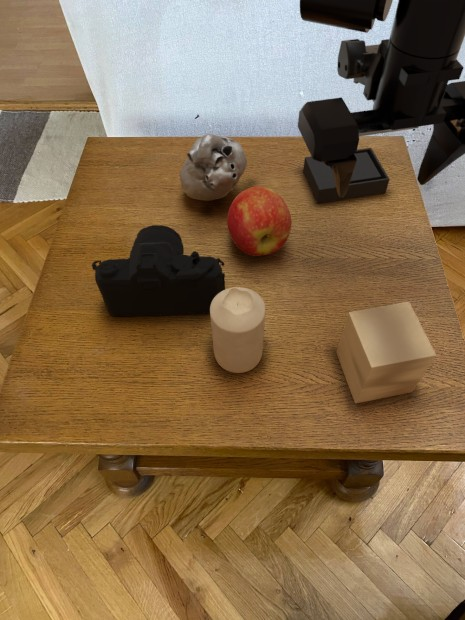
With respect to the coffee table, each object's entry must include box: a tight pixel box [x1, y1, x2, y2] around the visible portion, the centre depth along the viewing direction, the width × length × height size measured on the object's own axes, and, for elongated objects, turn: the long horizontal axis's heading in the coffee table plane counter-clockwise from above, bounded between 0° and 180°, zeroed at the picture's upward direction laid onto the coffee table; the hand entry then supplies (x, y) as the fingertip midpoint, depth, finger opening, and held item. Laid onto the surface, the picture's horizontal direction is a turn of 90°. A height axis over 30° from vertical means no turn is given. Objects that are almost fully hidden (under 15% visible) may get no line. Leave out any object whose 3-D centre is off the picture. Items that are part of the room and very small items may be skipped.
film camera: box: [91, 224, 226, 317], centre depth 57 cm, size 15×10×9 cm, turn 91°
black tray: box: [302, 147, 390, 204], centre depth 70 cm, size 10×7×2 cm
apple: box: [226, 186, 293, 257], centre depth 61 cm, size 8×8×8 cm
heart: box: [179, 133, 248, 202], centre depth 66 cm, size 10×10×12 cm
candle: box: [209, 286, 266, 374], centre depth 51 cm, size 6×6×10 cm
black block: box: [330, 152, 381, 184], centre depth 70 cm, size 6×6×2 cm
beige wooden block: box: [335, 300, 437, 404], centre depth 50 cm, size 6×6×8 cm
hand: (380, 188), depth 53 cm, fingers open, 9 cm apart
